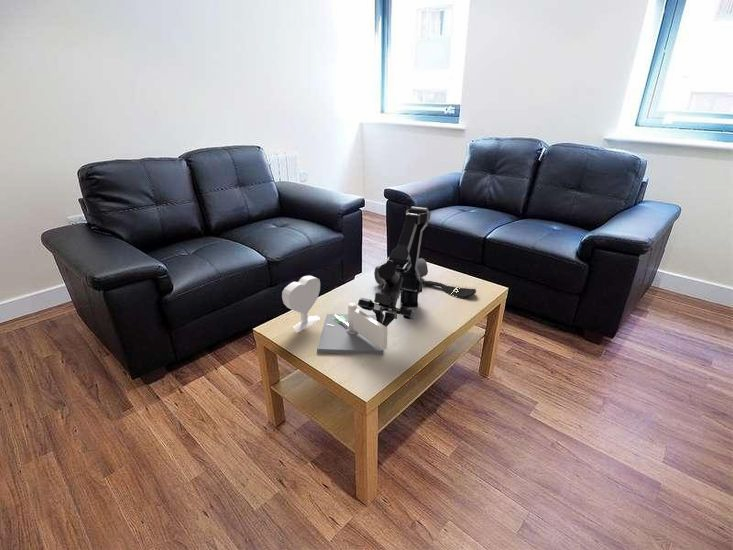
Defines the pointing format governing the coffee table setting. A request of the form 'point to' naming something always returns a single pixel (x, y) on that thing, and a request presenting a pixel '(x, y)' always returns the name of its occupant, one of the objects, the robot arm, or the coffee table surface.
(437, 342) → the coffee table surface
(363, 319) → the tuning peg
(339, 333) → the grey flat panel
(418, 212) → the robot arm
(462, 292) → the hairbrush
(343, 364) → the coffee table surface
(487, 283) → the coffee table surface
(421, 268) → the bluetooth speaker
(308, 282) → the heart sculpture
